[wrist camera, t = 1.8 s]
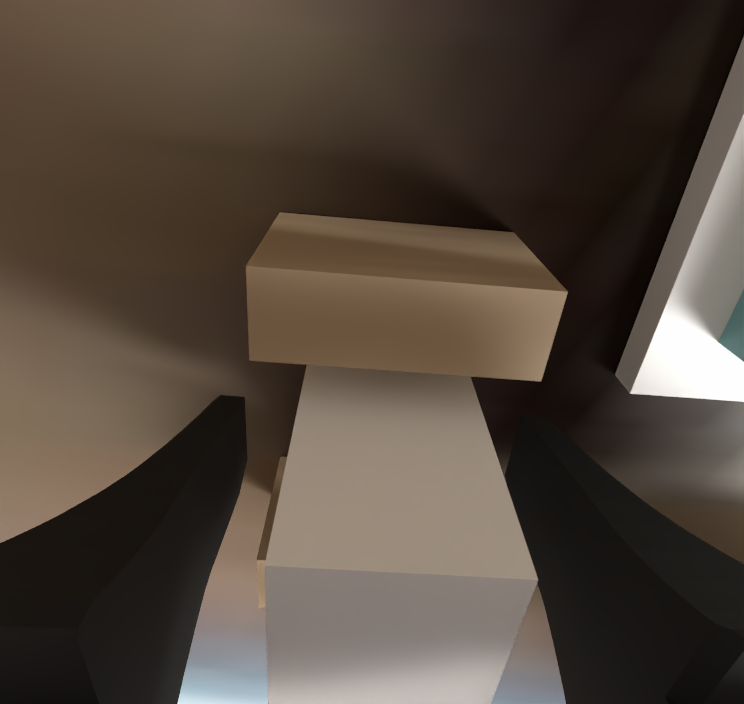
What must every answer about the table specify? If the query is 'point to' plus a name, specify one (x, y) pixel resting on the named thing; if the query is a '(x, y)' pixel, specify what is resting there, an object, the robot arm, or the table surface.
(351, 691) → the plug
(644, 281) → the table surface
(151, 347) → the table surface
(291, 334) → the wooden pieces
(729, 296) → the port
